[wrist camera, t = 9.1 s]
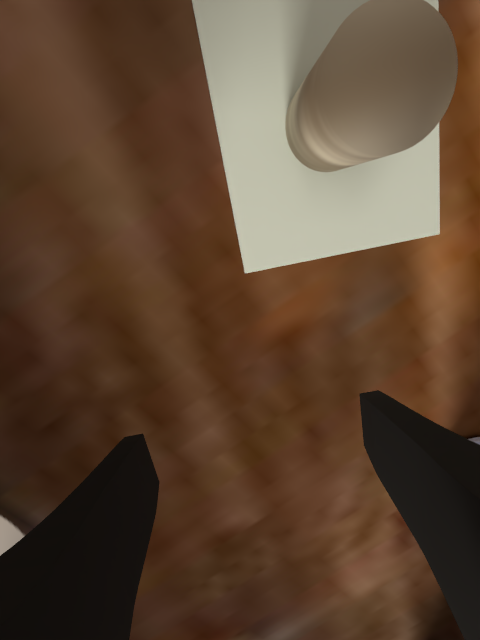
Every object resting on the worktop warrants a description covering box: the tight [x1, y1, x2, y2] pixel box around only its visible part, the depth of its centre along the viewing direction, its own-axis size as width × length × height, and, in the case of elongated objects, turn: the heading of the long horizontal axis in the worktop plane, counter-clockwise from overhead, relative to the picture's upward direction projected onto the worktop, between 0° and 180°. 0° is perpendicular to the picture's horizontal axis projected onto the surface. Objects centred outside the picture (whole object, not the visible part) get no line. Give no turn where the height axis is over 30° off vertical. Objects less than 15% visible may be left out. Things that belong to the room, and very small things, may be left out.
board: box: [192, 0, 440, 273], centre depth 16 cm, size 12×10×1 cm
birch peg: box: [285, 0, 458, 172], centre depth 13 cm, size 4×4×6 cm
